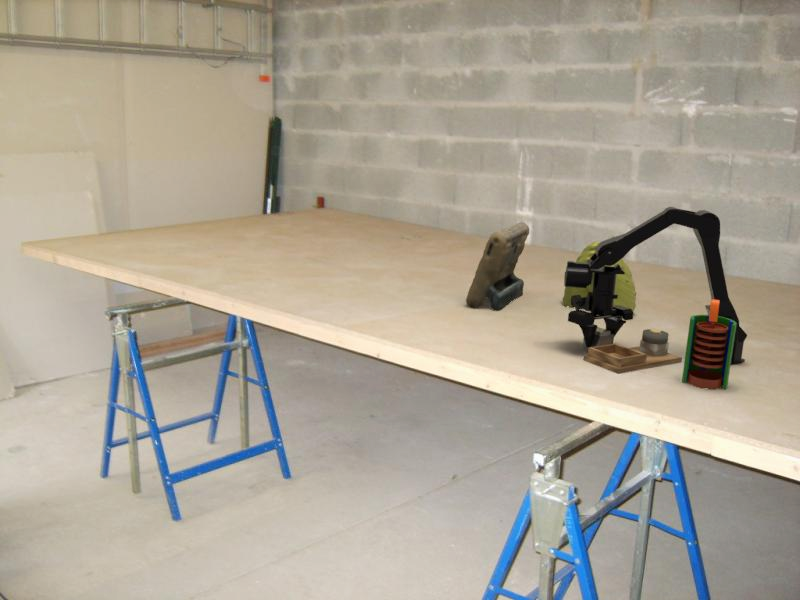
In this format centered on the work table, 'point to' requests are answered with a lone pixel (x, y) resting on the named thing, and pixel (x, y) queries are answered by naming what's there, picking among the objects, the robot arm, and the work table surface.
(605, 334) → the stepped grey block
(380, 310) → the work table surface
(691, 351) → the motor
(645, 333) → the grey knob
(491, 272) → the tablet
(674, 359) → the wooden tray
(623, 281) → the lungs
